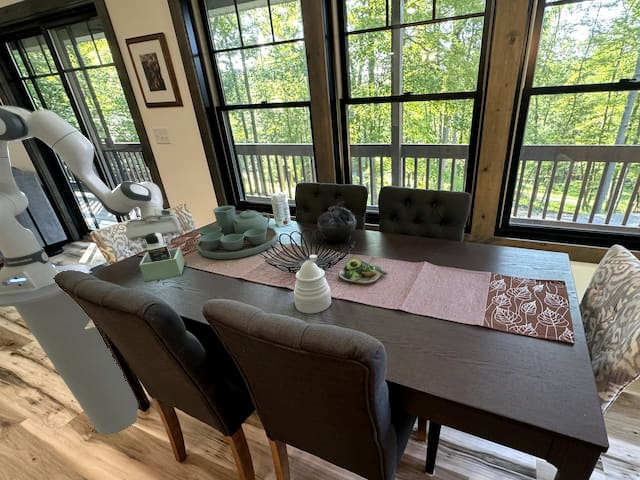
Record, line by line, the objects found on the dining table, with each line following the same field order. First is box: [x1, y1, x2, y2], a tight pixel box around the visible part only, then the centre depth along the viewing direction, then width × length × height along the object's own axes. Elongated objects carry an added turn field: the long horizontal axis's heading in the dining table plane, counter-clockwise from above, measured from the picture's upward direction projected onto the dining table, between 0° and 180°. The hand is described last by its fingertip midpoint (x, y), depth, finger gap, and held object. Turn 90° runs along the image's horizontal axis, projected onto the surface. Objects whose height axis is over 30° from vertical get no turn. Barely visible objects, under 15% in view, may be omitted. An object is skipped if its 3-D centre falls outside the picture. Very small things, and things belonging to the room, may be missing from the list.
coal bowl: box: [317, 201, 357, 242], centre depth 160 cm, size 20×20×19 cm
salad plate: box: [338, 257, 389, 285], centre depth 128 cm, size 19×18×5 cm
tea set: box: [195, 205, 279, 260], centre depth 160 cm, size 40×40×16 cm
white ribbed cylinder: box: [270, 191, 292, 228], centre depth 185 cm, size 8×9×19 cm
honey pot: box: [293, 254, 332, 314], centre depth 108 cm, size 13×13×18 cm
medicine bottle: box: [144, 233, 171, 262], centre depth 133 cm, size 7×7×12 cm
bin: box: [138, 246, 186, 282], centre depth 137 cm, size 14×14×8 cm
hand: (156, 245), depth 133 cm, fingers closed on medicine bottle, 7 cm apart
